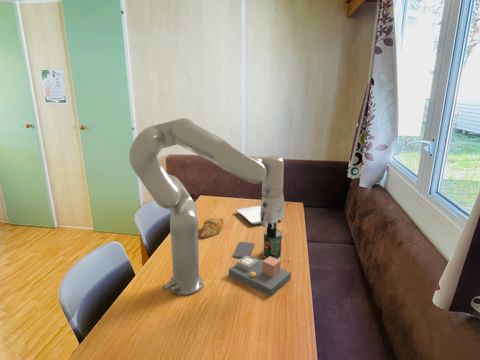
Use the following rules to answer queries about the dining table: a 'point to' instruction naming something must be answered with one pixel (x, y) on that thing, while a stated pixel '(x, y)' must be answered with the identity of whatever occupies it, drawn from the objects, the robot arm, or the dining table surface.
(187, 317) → the dining table surface
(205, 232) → the croissant
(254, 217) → the salad plate
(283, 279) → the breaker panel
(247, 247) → the smartphone
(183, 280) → the robot arm
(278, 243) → the canned tomato
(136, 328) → the dining table surface
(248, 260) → the button
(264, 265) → the block
